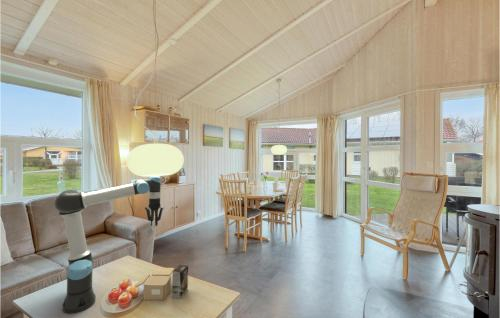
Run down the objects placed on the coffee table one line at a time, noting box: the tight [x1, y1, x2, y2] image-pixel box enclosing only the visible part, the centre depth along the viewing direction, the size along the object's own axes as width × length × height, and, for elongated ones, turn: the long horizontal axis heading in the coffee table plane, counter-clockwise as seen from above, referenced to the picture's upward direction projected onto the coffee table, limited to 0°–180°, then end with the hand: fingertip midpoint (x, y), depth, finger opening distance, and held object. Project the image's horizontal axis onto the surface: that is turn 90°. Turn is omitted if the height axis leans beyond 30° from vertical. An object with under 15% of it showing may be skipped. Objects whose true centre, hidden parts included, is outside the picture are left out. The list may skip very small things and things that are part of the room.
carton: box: [143, 267, 175, 301], centre depth 146 cm, size 13×20×10 cm, turn 0°
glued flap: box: [134, 274, 151, 288], centre depth 141 cm, size 1×10×9 cm
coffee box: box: [171, 264, 189, 300], centre depth 142 cm, size 9×6×16 cm
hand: (154, 230), depth 164 cm, fingers closed
